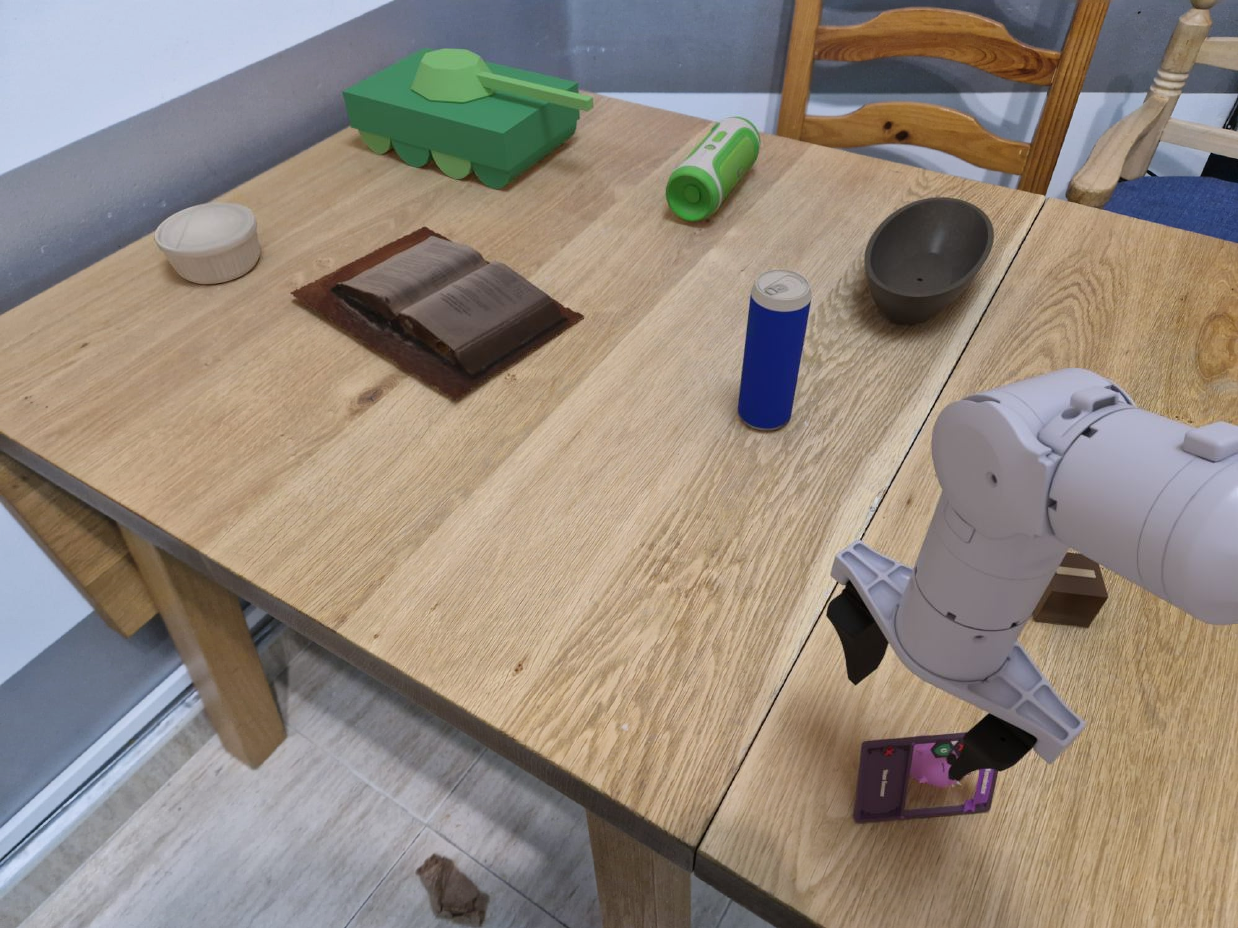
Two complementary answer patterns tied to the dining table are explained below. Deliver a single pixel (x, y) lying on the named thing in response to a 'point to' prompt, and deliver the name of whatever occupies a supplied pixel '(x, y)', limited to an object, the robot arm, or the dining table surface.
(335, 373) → the dining table surface
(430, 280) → the book
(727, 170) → the speaker
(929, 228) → the bowl
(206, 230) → the ramekin
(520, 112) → the toy tank
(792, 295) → the beverage can
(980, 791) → the game card
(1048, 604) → the brown box
